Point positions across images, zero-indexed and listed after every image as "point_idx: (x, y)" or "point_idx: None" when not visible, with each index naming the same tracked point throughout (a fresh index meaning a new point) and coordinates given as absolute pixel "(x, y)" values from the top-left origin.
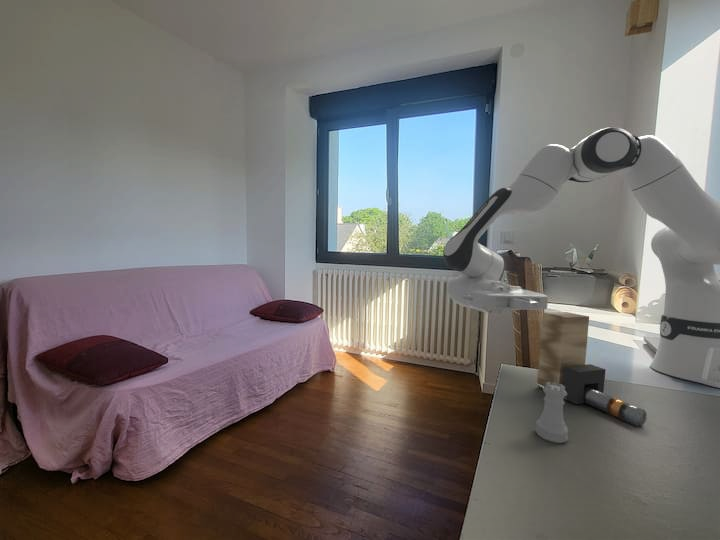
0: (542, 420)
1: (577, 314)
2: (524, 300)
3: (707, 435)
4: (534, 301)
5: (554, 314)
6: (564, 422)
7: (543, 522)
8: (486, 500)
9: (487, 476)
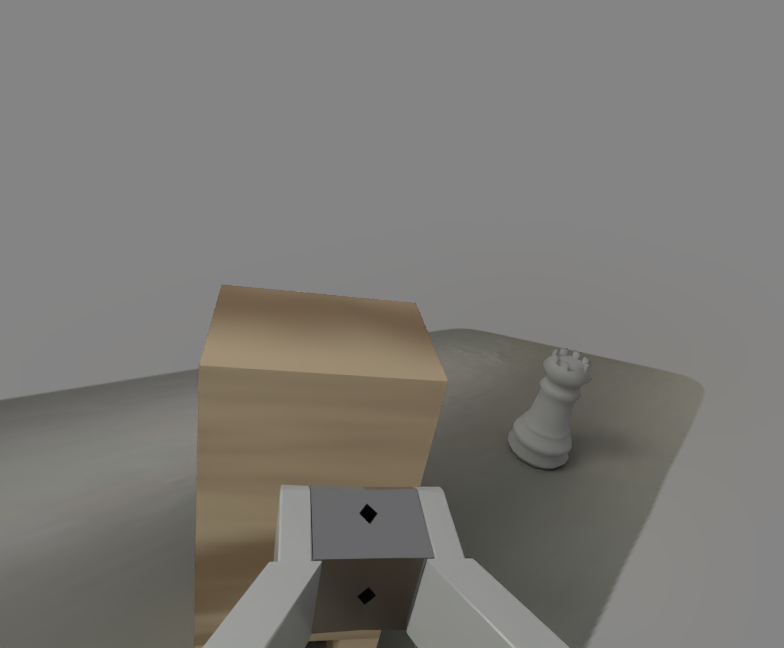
0: (569, 427)
1: (228, 315)
2: (439, 567)
3: (169, 378)
4: (318, 509)
5: (418, 337)
6: (526, 412)
7: (633, 369)
8: (691, 396)
9: (685, 417)
